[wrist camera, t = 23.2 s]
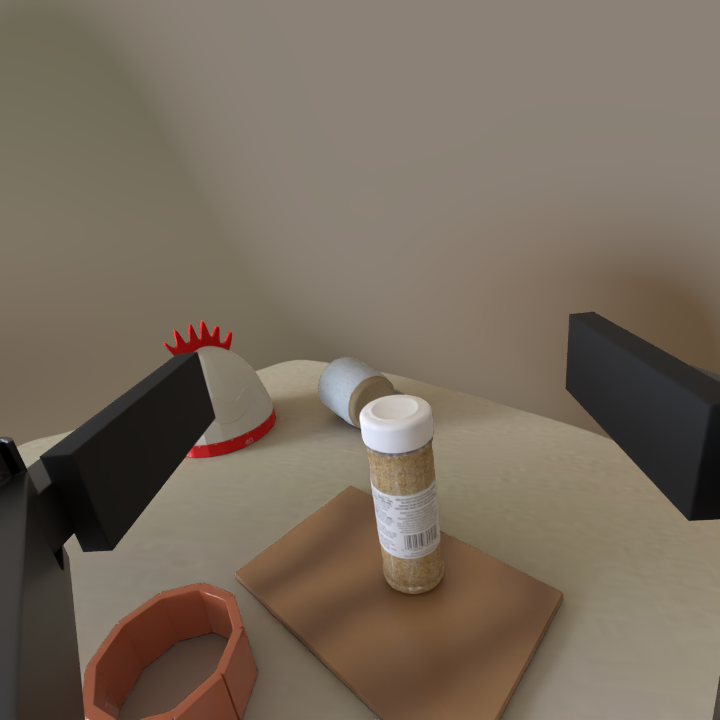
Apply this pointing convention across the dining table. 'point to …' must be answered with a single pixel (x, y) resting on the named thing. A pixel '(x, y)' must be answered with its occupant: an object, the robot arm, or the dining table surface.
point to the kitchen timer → (227, 395)
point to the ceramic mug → (352, 388)
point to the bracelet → (155, 636)
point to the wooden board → (403, 616)
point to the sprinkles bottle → (404, 490)
